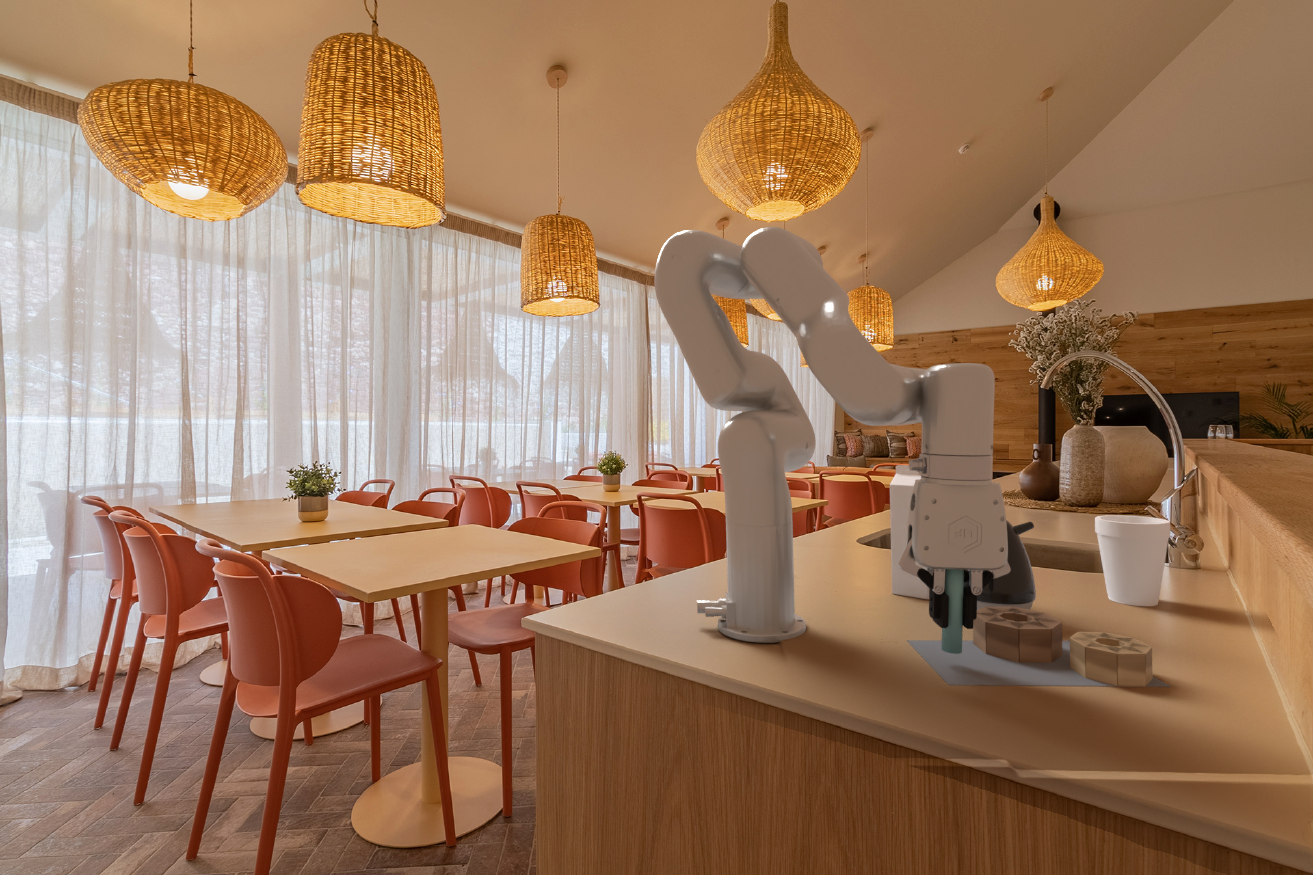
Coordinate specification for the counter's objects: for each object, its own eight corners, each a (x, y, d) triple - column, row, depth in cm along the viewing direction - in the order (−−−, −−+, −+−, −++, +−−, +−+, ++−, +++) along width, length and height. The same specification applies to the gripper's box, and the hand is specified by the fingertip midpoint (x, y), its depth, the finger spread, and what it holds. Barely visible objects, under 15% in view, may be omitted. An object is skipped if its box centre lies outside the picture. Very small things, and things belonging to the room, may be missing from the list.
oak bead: (1097, 685, 66) (1096, 653, 66) (1059, 660, 73) (1059, 631, 72) (1166, 686, 65) (1166, 653, 65) (1122, 661, 72) (1121, 631, 72)
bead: (996, 662, 73) (995, 628, 73) (964, 636, 82) (963, 606, 82) (1075, 662, 72) (1075, 628, 72) (1034, 636, 81) (1034, 606, 81)
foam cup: (1166, 597, 99) (1165, 517, 99) (1176, 612, 91) (1175, 525, 91) (1094, 590, 104) (1092, 514, 104) (1098, 603, 96) (1097, 521, 96)
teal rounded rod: (945, 653, 71) (947, 551, 71) (937, 645, 73) (940, 547, 73) (965, 654, 71) (968, 552, 70) (957, 646, 73) (960, 547, 73)
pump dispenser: (1050, 630, 84) (1048, 521, 84) (969, 628, 86) (967, 521, 86) (1021, 609, 94) (1020, 511, 94) (949, 607, 96) (947, 511, 96)
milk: (927, 600, 101) (925, 467, 100) (891, 594, 105) (888, 466, 104) (939, 591, 105) (937, 464, 105) (904, 586, 109) (901, 463, 109)
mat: (948, 689, 67) (948, 684, 67) (906, 644, 81) (906, 640, 81) (1171, 690, 65) (1171, 686, 65) (1089, 644, 79) (1089, 640, 79)
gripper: (895, 471, 68) (892, 633, 69) (1045, 473, 67) (1040, 638, 68) (876, 466, 76) (874, 612, 76) (1010, 467, 74) (1006, 616, 75)
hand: (952, 623), depth 72 cm, fingers closed on teal rounded rod, 2 cm apart
